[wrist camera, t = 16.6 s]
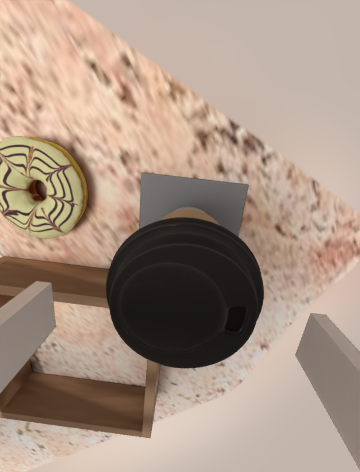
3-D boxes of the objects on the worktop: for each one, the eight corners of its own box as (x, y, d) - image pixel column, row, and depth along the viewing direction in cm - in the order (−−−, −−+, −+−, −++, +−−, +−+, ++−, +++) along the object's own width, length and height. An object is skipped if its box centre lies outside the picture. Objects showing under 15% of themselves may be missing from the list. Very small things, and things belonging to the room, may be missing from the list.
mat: (228, 278, 27) (229, 279, 27) (137, 267, 27) (137, 268, 27) (248, 184, 23) (248, 184, 23) (141, 172, 24) (141, 172, 23)
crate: (157, 393, 35) (150, 438, 29) (26, 376, 35) (-6, 416, 30) (168, 276, 28) (162, 305, 22) (3, 256, 28) (-45, 279, 22)
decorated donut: (7, 218, 27) (-22, 226, 23) (6, 127, 23) (-28, 121, 19) (87, 240, 27) (71, 251, 23) (98, 154, 23) (81, 152, 20)
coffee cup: (236, 252, 26) (290, 359, 12) (165, 273, 27) (137, 391, 13) (213, 178, 23) (248, 198, 9) (136, 206, 25) (61, 262, 10)
